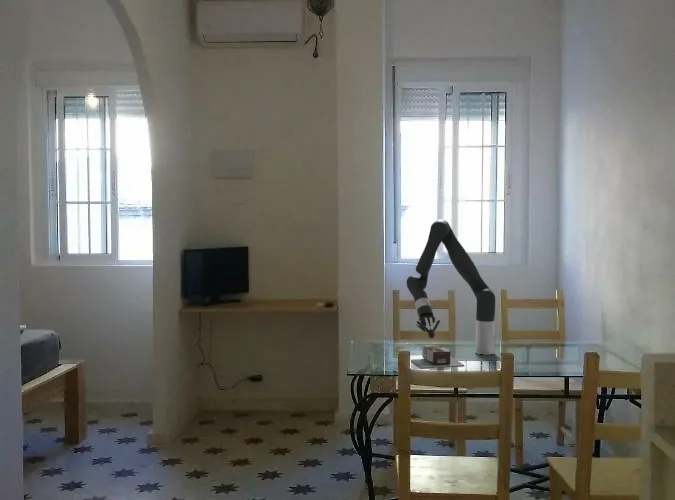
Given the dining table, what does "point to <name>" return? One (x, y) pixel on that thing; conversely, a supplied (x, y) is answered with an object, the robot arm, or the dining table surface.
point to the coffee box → (436, 354)
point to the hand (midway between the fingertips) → (432, 337)
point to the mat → (425, 364)
